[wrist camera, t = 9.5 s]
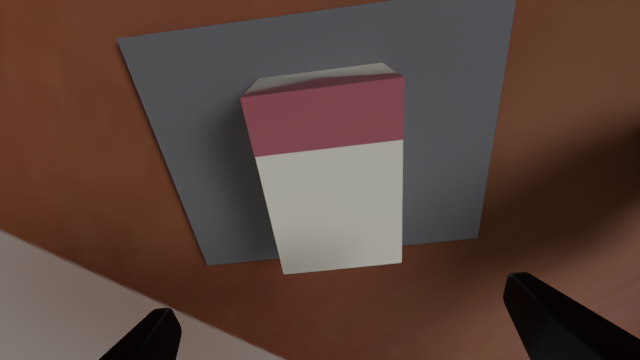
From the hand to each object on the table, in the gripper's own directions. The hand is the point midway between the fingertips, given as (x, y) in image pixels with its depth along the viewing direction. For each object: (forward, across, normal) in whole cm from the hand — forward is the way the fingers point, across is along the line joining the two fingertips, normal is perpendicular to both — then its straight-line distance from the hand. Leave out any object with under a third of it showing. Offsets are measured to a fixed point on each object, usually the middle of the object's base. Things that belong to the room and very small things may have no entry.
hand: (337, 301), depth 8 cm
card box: (+10, 0, 0) cm, 10 cm away
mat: (+10, 0, 0) cm, 10 cm away
